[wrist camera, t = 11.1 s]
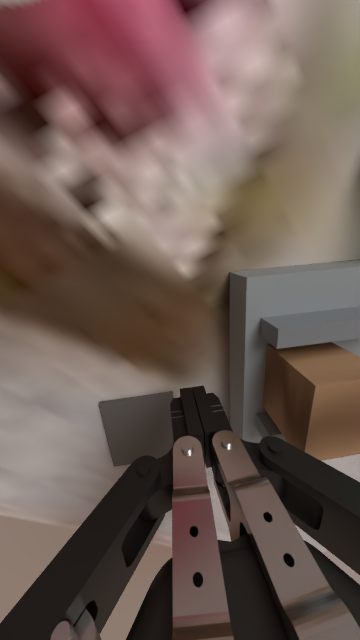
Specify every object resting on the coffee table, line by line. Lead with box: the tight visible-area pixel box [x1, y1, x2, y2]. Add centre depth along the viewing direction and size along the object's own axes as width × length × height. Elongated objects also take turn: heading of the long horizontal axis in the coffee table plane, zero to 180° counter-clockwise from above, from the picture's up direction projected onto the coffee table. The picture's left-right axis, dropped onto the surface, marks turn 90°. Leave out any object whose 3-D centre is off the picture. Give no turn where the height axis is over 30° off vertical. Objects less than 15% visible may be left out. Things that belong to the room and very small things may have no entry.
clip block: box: [263, 342, 360, 461], centre depth 13 cm, size 5×4×4 cm
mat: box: [99, 392, 173, 466], centre depth 19 cm, size 7×6×1 cm
